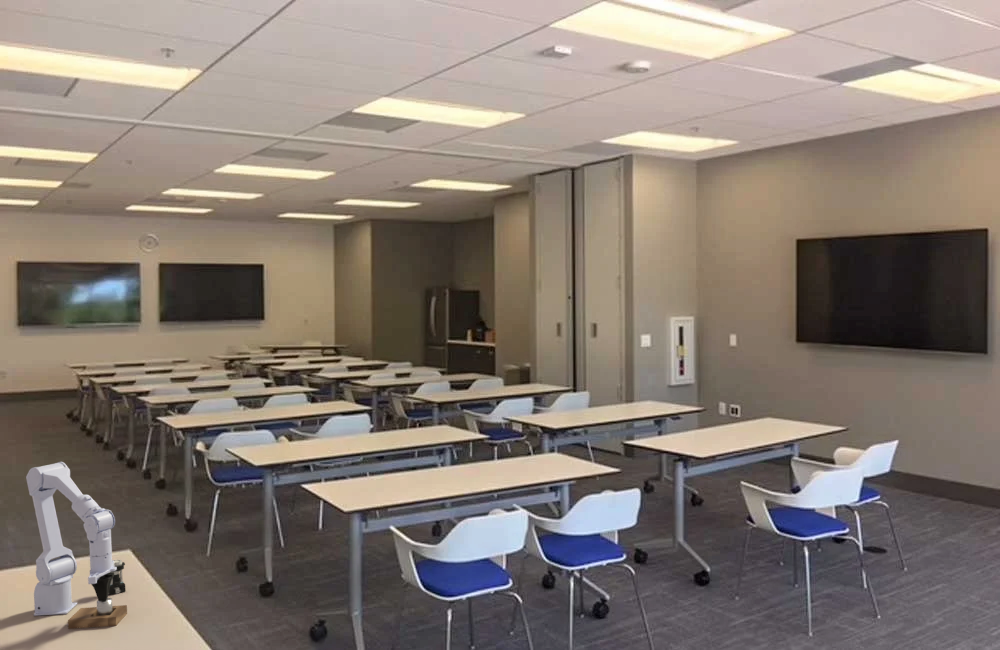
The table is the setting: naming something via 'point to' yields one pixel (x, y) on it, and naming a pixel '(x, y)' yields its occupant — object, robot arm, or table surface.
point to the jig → (96, 617)
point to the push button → (117, 579)
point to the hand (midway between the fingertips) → (102, 599)
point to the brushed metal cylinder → (104, 607)
